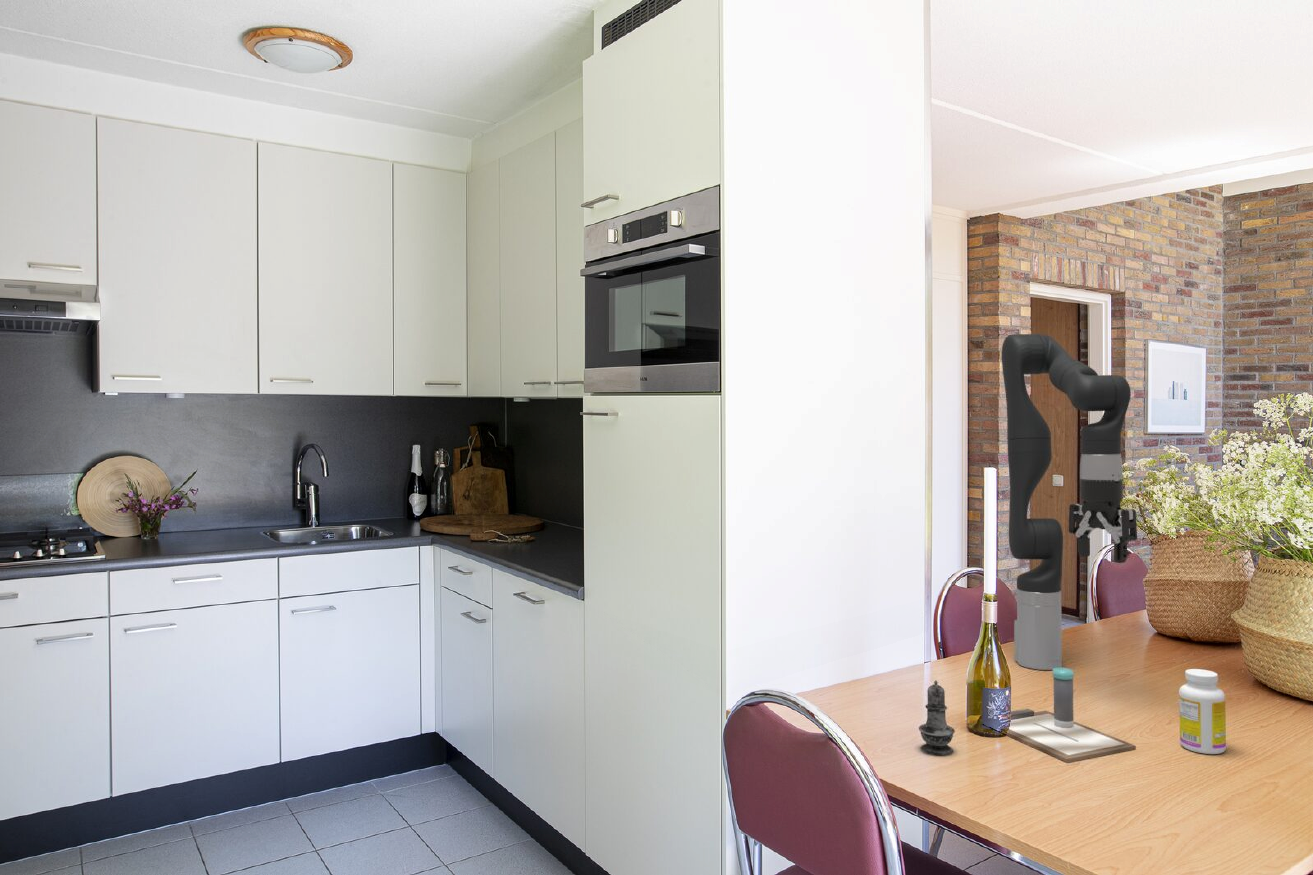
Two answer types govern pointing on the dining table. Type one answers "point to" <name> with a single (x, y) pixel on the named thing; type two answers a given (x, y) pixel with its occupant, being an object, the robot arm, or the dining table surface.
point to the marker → (1063, 697)
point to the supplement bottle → (1202, 713)
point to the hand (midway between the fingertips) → (1101, 559)
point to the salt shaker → (936, 724)
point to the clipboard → (1062, 737)
